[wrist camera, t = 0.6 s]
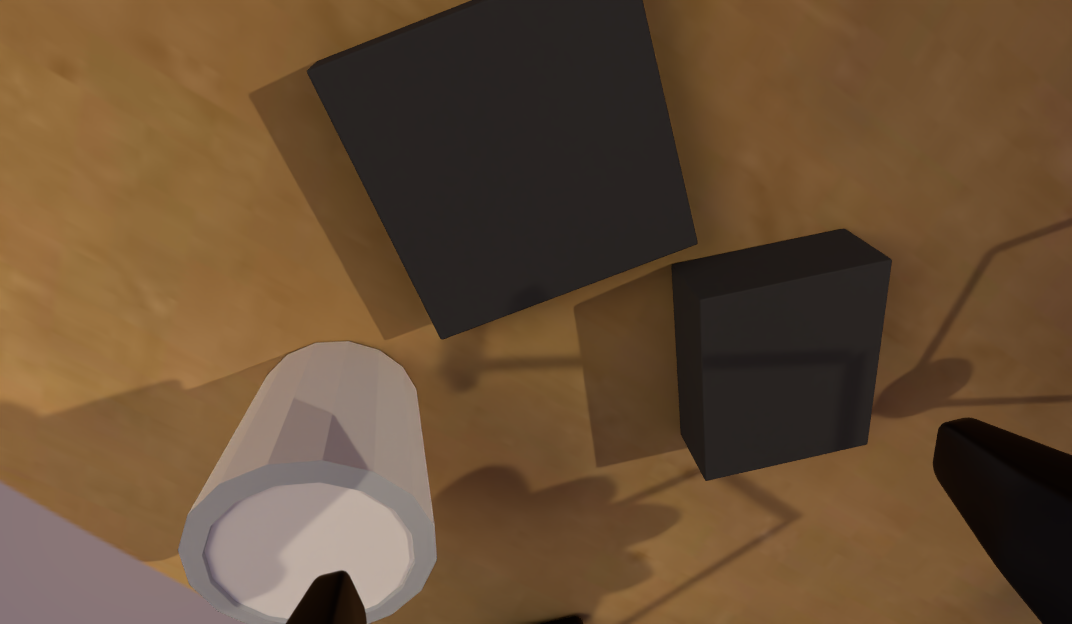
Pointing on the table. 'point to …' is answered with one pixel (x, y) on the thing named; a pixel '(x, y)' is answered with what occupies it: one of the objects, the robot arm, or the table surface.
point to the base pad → (512, 150)
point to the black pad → (778, 350)
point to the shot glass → (317, 490)
